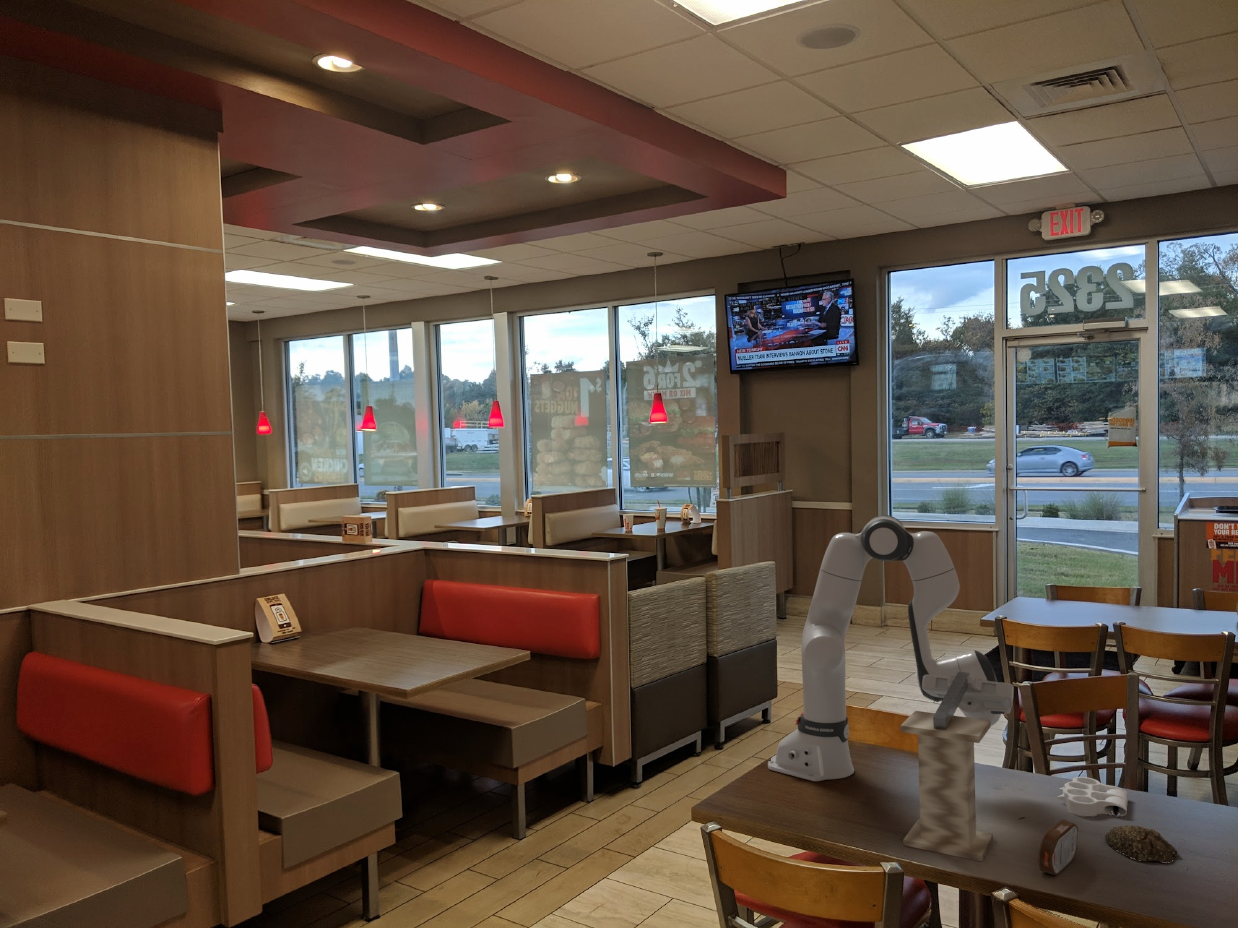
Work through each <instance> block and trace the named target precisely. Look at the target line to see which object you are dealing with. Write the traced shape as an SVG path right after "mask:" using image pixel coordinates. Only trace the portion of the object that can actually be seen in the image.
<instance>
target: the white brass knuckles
mask: <svg viewBox="0 0 1238 928" xmlns="http://www.w3.org/2000/svg"><path fill="white" fill-rule="evenodd" d="M1058 790H1060V791H1062V794H1060V795H1058V796H1056V798H1057V799H1059V800H1060V801H1063V804H1064V805H1065V806H1067V812H1069V813H1071V814H1073V815H1075V814H1076V815H1075V816H1079V817H1085V816H1092V817H1096V816H1098V815H1107V814H1109V816H1112V815H1111V814H1112V812H1111V811H1114V806H1117V807H1118V810H1119V812H1118V811H1117V813H1120V815H1118V816H1121V817H1124V816H1127V811H1128V800H1129V798H1128V797H1129V792H1127V791H1126V790H1125V789H1124V788H1121V787H1118V786H1114V785H1111V784H1110V785H1109V784H1104V783H1102V782H1100V781H1099V780H1097V779H1095V778H1091V777H1086V776H1076V777H1073V778H1072V781H1067V782H1065V783H1064V785H1063V787H1060V788H1059V787H1058ZM1097 814H1098V815H1097ZM1118 816H1117V817H1118Z"/></svg>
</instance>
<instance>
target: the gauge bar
mask: <svg viewBox="0 0 1238 928" xmlns="http://www.w3.org/2000/svg"><path fill="white" fill-rule="evenodd" d="M967 677H970V674H969V673H966V672H958V673H957V675H956V677H955V678H954V680H953V682H952V684H951V686H950V687H949V689H948V691H947V693H946V695H945V696H944V698H943V700H942V701H940V704H939V706H938V707H937V709H936V711H935V712H934V713H935V715H934V716H933V724H934V728H936V729H943V730H946V729H947V727H948V725H949V723H950V721H951V719H952V717H953V716H955V713H956V711H957V710H958V706H959V704H960V702H961V700H962V698H963V696H964V694H965V692H966V690H967V688H968V686H967Z"/></svg>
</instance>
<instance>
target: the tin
mask: <svg viewBox="0 0 1238 928" xmlns="http://www.w3.org/2000/svg"><path fill="white" fill-rule="evenodd" d="M1078 836H1079V827H1078V825H1077V824H1076V823H1074V822H1072V821H1069V820H1066V819H1063V818H1062V819H1060V820H1059V821H1058V822H1056V823H1055V824H1054V825H1052V827H1050V828H1049V829H1047V830H1046V831H1045V833H1044V835H1043V837H1042V839H1041V843H1040V847H1039V851H1038V852H1039V853H1038V867H1039V869H1040V871H1041V872H1042V873H1047V874H1049V875H1052V876H1058V875H1059V874H1060V873H1061V872H1063V871H1064V869H1066V868H1067V867H1068V866H1069V865H1070V864H1071V863H1072V862H1073V861H1072V860H1074V859H1075V857H1076V854H1077V851H1078ZM1070 862H1071V863H1070ZM1069 863H1070V864H1069ZM1067 865H1068V866H1067ZM1066 866H1067V867H1066Z"/></svg>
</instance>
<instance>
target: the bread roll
mask: <svg viewBox="0 0 1238 928" xmlns="http://www.w3.org/2000/svg"><path fill="white" fill-rule="evenodd" d="M1104 839H1105V842H1106V843H1107V845H1108V846H1109V845H1110V846H1111V847H1110V846H1109V847H1110V848H1112V847H1113V848H1114V849H1115V850H1114V849H1113V848H1112V849H1113V850H1114V851H1116V850H1118V851H1119V852H1121V853H1124V854H1125V855H1127V856H1128V857H1127V856H1126V857H1127V858H1129V857H1132V858H1135V859H1136V860H1141V861H1143V862H1153V861H1154V862H1159V863H1161V862H1167V863H1168V862H1172V860H1173V859H1174V858H1177V857H1178V855H1179V854H1178V850H1177V849H1176V848H1175V846H1173V845H1172V844H1171V843H1169V841H1167V840H1166V839H1165V838H1164V837H1163V836H1162V835H1161V833H1160V832H1158V831H1156V829H1154V828H1146V827H1143V826H1142V827H1141V826H1138V825H1130V824H1129V825H1128V824H1127V825H1120V826H1114V827H1113V828H1112V829H1110V830H1109V831H1108V832H1106V834H1105V837H1104ZM1125 855H1124V856H1125ZM1176 856H1177V857H1176ZM1173 857H1174V858H1173ZM1136 860H1135V861H1136ZM1173 861H1174V860H1173ZM1172 863H1173V862H1172Z"/></svg>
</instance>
